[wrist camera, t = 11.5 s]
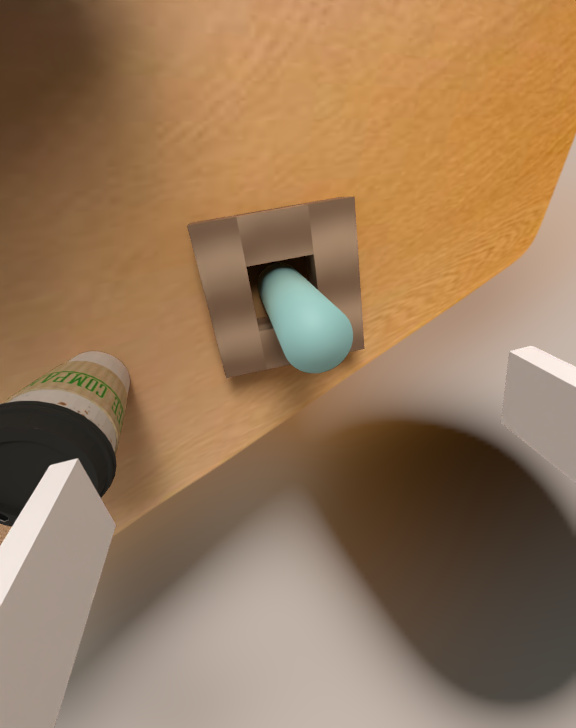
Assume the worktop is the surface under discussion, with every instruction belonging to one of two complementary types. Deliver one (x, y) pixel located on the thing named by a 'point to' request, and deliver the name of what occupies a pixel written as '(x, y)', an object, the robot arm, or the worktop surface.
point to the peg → (304, 320)
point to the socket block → (268, 244)
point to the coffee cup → (62, 427)
